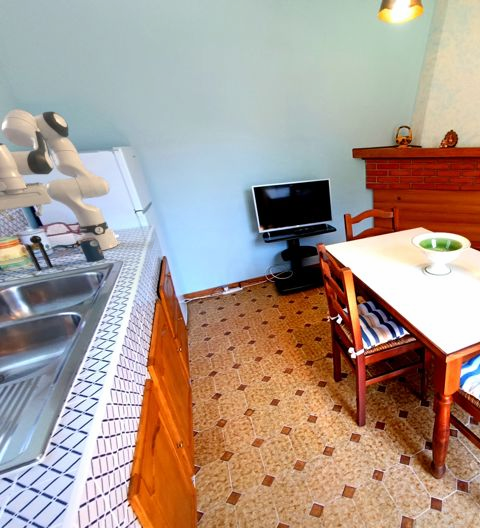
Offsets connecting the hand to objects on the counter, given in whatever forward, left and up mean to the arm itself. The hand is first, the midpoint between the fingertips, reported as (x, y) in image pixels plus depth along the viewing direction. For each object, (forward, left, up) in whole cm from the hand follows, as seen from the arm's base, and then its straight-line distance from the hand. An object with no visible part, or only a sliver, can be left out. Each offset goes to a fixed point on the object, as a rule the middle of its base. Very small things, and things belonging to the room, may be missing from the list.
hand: (25, 218), depth 128 cm
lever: (-3, 0, -13) cm, 14 cm away
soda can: (+1, +17, -27) cm, 31 cm away
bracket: (-9, 0, -26) cm, 28 cm away
